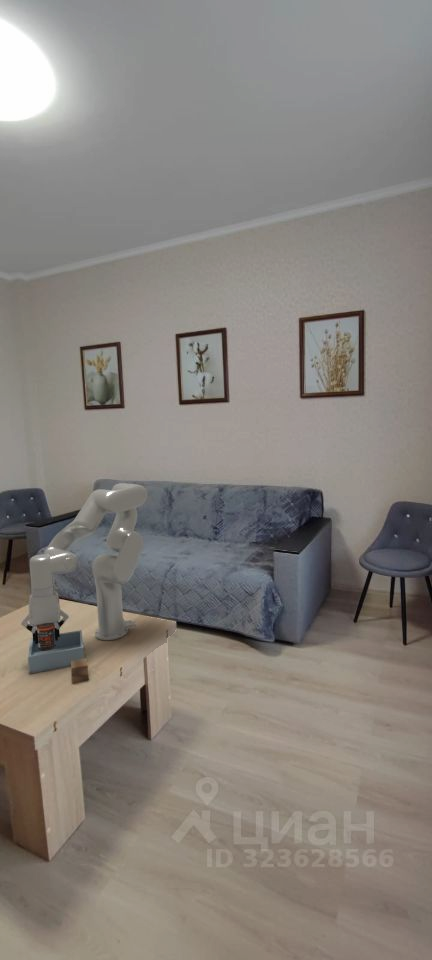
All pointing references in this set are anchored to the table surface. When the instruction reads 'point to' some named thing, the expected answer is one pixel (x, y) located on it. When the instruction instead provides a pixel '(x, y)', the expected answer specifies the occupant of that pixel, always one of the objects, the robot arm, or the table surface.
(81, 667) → the walnut cube
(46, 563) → the robot arm
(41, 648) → the supplement bottle
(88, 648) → the table surface
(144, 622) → the table surface
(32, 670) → the tote
